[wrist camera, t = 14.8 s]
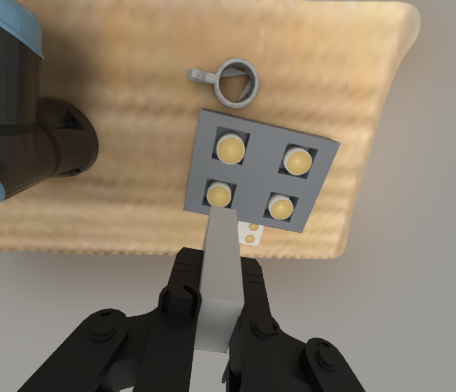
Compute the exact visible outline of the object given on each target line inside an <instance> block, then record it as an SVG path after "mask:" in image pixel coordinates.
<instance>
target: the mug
mask: <svg viewBox="0 0 456 392" xmlns="http://www.w3.org/2000/svg"><path fill="white" fill-rule="evenodd" d="M232 67H238V68H241V69H243V70H244V71H245V72H243V71H240V70H237V69H234V68H232ZM245 74H248V76H249V78H250V81H249V82H248V84H247V85H246V87H245V89H244V90H243V92H242V94H241V95H240V97H239V98H238V100H237V102H236V103H233V102H230V101H228V100H227V99H226V98H225V97H224V96H223V95H222V93H221V91H220V89H219V80H220V77H228V76H237V75H245ZM187 78H188V79H189V80H190V81H193V82H198V83H202V82H204V83H209V84H213V85H214V92H215V95H216V97H217V98H218V100H219V102H220V103H222V104H223V105H225V106H227V107H229V108H243V107H244V106H246V105H248V104H249V103H250V102H251V101H252V100H253V99H254V97H255V96H256V94H257V92H258V87H259V79H258V74H257V71H256V69H255V68H254V66H253V65H252V64H251V63H250V62H249V61H247V60H245V59H242V58H230V59H228V60H226V61H225V62H223V63H222V64H221V65H220V66H219V68H218V69H217V71H216V73H215V74H213V73H209V72H204V71H202V70H199V69H196V68H193V69H188V70H187ZM249 91H250V92H249ZM248 92H249V94H248V95H247V97H246V98H245V99H244V100H242V101H240V102H238V101H239V100H240V99H242V98H243V97H244V96H245V95H246V94H247V93H248Z"/></svg>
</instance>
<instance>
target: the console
mask: <svg viewBox="0 0 456 392" xmlns="http://www.w3.org/2000/svg"><path fill="white" fill-rule="evenodd" d="M226 132H235V133H237V134H238V135H239V136H240V137H241V138H242V141H243V144H244V147H245V154H244V157H243V158H242V160H241V161H240V162H238V163H236V164H232V165H230V164H225V163H223V162H222V161H221V160H220V159H219V158H218V155H217V144H218V140H219V138H220V136H221V135H222V134H224V133H226ZM291 144H295V145H298V146H299V147H301V148H302V149H304V150H305V151H307V152H308V153H309V154H310V156H311V158H312V164H311V167H310V168H309V170H308V171H307V172H305V173H304V174H301V175H293V174H291V173H290V172H289V171H288V170H287V169H286V168H285V167H284V165H283V164H282V163H281V161H282V158H283V155H284V152H285V149H286V146H288V145H291ZM339 146H340V143H339V142H336V141H334V140H332V139H329V138H325V137H321V136H317V135H313V134H309V133H305V132H301V131H297V130H292V129H288V128H284V127H280V126H276V125H272V124H268V123H263V122H259V121H255V120H251V119H247V118H243V117H239V116H235V115H230V114H226V113H222V112H218V111H214V110H210V109H206V108H202V109H200V113H199V119H198V125H197V131H196V137H195V143H194V149H193V155H192V161H191V167H190V173H189V180H188V186H187V192H186V198H185V204H184V210H185V211H190V212H195V213H200V214H205V215H209V214H210V209H211V204H210V203H209V202H208V200H207V192H208V187H209V183H210V181H211V180H212V179H214V180H218V181H223V182H228V183H230V185H231V200H230V202H229V203H228V204H227V205H226V206H224V208H229V209H234V210H236V214H237V221H242V222H247V223H252V224H257V225H262V226H267V227H272V228H278V229H283V230H288V231H293V232H298V233H302V231H303V229H304V227H305V224H306V222H307V220H308V217H309V215H310V213H311V210H312V208H313V206H314V204H315V201H316V199H317V197H318V194H319V192H320V190H321V187H322V185H323V183H324V180H325V178H326V176H327V173H328V171H329V169H330V166H331V164H332V162H333V159H334V157H335V155H336V153H337V150H338V148H339ZM271 192H275V193H280V194H285V195H287V196H288V198H289V199H290V201H291V202H292V204H293V212H292V214H291V215H290V216H289V217H288V218H286V219H283V220H278V219H275V218H273V217H272V216H271V214H270V211H269V208H268V206H267V203H268V200H269V197H270V194H271Z"/></svg>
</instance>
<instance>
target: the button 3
mask: <svg viewBox="0 0 456 392" xmlns="http://www.w3.org/2000/svg"><path fill="white" fill-rule="evenodd" d="M267 206H268V208H269V211H270V214H271V216H272V217H273V218H275V219H278V220H283V219H286V218H288V217H289V216H290V215H291V214H292V212H293V204H292V202H291V201H290V199H289V198H288V196H287V195H285V194H280V193H275V192H271V194H270V197H269V200H268V203H267Z"/></svg>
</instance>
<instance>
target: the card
mask: <svg viewBox="0 0 456 392" xmlns="http://www.w3.org/2000/svg"><path fill="white" fill-rule="evenodd" d="M237 226H238V237H239V243H243V244H249V245H254V246H258V244H259V241H260V238H261V235H262V232H263V229H264V226H262V225H257V224H252V223H247V222H242V221H237Z"/></svg>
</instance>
